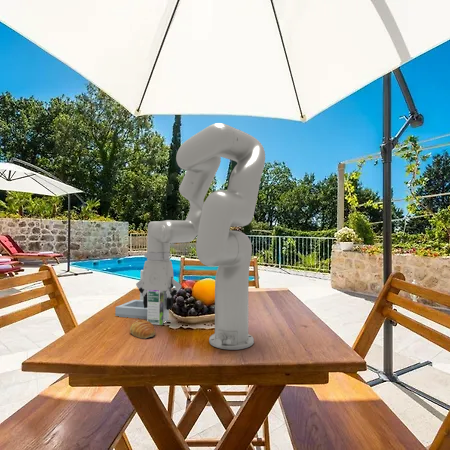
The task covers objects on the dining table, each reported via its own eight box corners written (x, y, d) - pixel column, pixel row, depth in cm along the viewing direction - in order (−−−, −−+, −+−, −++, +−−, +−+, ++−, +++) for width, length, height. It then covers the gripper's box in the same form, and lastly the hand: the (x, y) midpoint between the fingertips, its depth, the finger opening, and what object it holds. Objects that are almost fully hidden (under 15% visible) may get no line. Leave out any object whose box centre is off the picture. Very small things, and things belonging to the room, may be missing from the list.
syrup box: (146, 324, 107) (146, 281, 108) (154, 319, 113) (154, 278, 113) (162, 325, 106) (162, 281, 106) (169, 320, 112) (169, 279, 112)
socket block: (147, 319, 113) (147, 309, 113) (115, 316, 117) (115, 306, 117) (163, 310, 126) (163, 301, 126) (134, 308, 129) (134, 299, 129)
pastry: (161, 337, 95) (161, 324, 95) (139, 342, 91) (139, 328, 91) (148, 329, 103) (148, 317, 103) (127, 333, 98) (127, 321, 99)
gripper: (130, 257, 109) (129, 308, 108) (177, 258, 104) (177, 312, 104) (141, 255, 116) (141, 304, 116) (186, 256, 111) (185, 307, 111)
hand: (158, 307), depth 110 cm, fingers open, 7 cm apart
